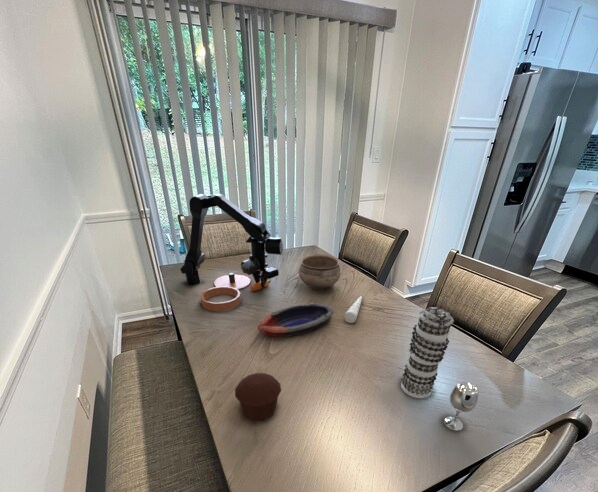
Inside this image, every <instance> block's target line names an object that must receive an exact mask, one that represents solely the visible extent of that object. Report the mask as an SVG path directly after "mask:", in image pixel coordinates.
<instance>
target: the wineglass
mask: <svg viewBox="0 0 598 492" xmlns="http://www.w3.org/2000/svg"><path fill="white" fill-rule="evenodd" d="M478 400H479V389H478V387H477V386H476V385H474V384H473V383H470V382H467V381H459V382H458V383H457V384H456V385H455V386H454V388H453V389H452V391H451V393H450V395H449V402H450V405H451V407H453V408H454V409H455V416H446V417H445V418H444V420H443V423H444V425H445V426H446V427H447V428H449V429H450V430H452V431H461V430H462V429H463V428H464V424H463V422H462V421H461V420H460V419H459V418H458V417H459V415H460V414H461V412H462V413H469V412H471V411H473V410H474V409H475V407H476V406H477V404H478Z"/></svg>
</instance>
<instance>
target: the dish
mask: <svg viewBox="0 0 598 492" xmlns="http://www.w3.org/2000/svg"><path fill="white" fill-rule="evenodd" d="M333 314H334V309H333V308H332V307H331V306H329V305H327V304H322V303H303V304H297V305H291V306H288V307H284V308H281V309H278V310H275V311H273V312H270V313H269V314H267V315H266V316H265V317H264V318H263V319H262V320H261V321H260V323H259V325H257V330H258V331H259V332H263V334H265V335H266V336H268V337H294V336H297V335H303V334H306V333H308V332H311V331H313V330H316V329H318V328H321V327H322V326H324V325H326V323H327V322H328V321H329V320H330V319H331V318H332V316H333Z"/></svg>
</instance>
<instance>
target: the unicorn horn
mask: <svg viewBox="0 0 598 492" xmlns="http://www.w3.org/2000/svg"><path fill="white" fill-rule="evenodd" d="M362 300H363V296H362V295H360V296H359V297H358V298H357V299H356V300H355V301H354V302H353V304H352V305H351V306H350V307H349V308H348V309H347V310H346V312H345V313H344V315H343V319H344V321H345V322H346V323H348V324H354V323H355V322H356V321H357V318H358V315H359V312H360V309H361V305H362Z"/></svg>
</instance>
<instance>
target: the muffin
mask: <svg viewBox="0 0 598 492" xmlns="http://www.w3.org/2000/svg"><path fill="white" fill-rule="evenodd" d="M281 392H282V387H281V383H280V382H279V381H278V380H277V378H275V377H274V376H273V375H271V374H269V373H265V372H255V373H251V374H248V375H247V376H245V377H243V378H242V379H241V380H240V381H239V382H238V384H237V386H235V388H234V397H235V398H236V400H237V401H238V402H239V403H240V406H241V409H242V412H243V414H244V417H245V418H248V419H250V420H252V421H253V422H256V421H265V420H267V419H268V418H270V417H271V416H274V413H275V410H276V408H277V404H278V398H279V396H280V394H281Z"/></svg>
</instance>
